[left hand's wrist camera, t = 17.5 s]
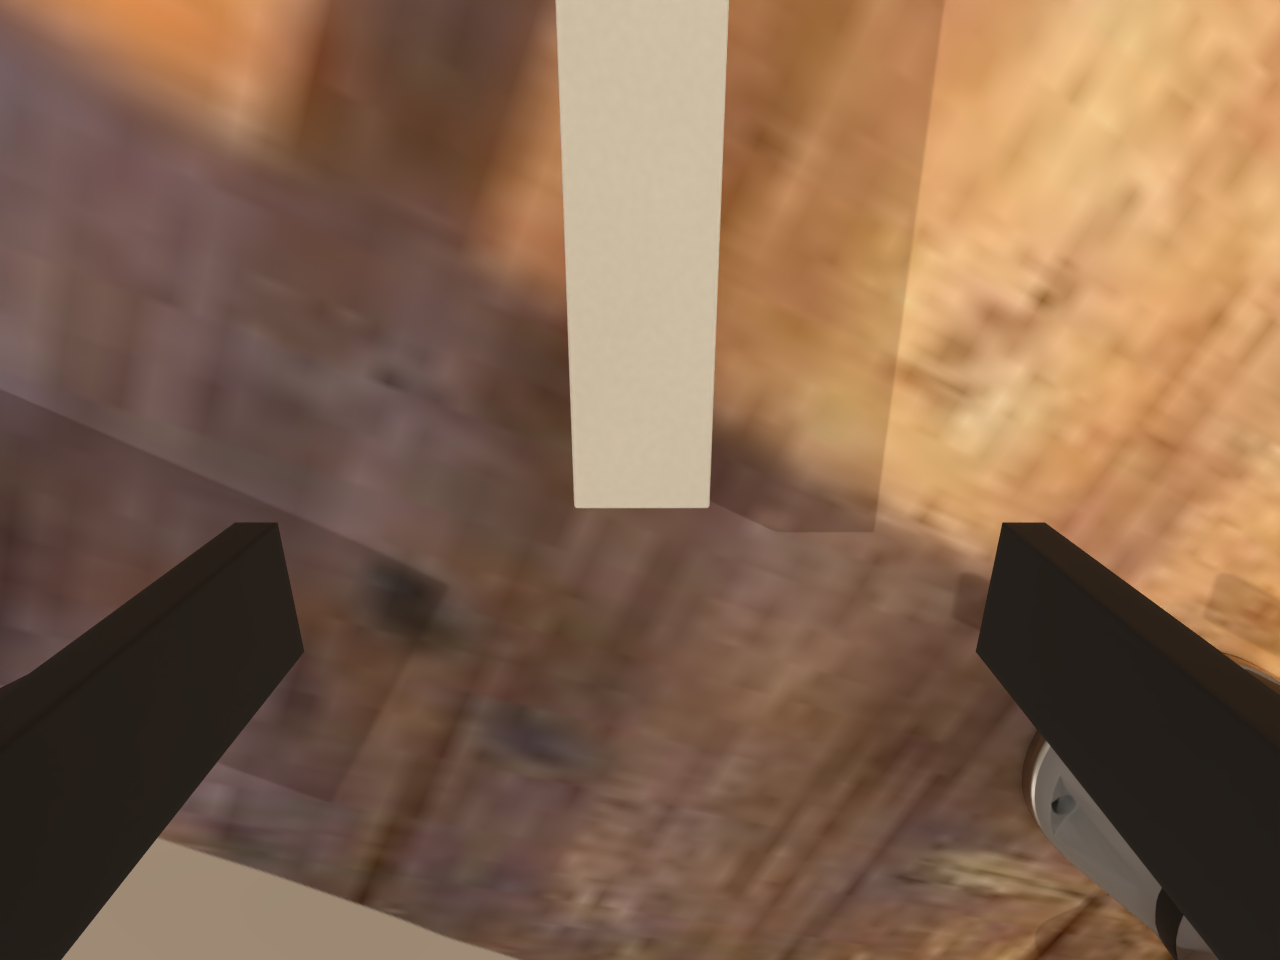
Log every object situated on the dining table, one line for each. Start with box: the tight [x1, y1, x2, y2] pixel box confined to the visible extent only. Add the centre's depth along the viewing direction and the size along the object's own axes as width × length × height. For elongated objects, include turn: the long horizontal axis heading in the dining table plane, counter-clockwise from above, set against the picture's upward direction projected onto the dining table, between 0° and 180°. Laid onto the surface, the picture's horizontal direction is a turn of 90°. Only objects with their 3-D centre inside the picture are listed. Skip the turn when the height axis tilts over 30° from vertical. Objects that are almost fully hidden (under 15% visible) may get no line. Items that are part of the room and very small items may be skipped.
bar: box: [556, 0, 729, 508], centre depth 24 cm, size 28×5×8 cm, turn 0°
